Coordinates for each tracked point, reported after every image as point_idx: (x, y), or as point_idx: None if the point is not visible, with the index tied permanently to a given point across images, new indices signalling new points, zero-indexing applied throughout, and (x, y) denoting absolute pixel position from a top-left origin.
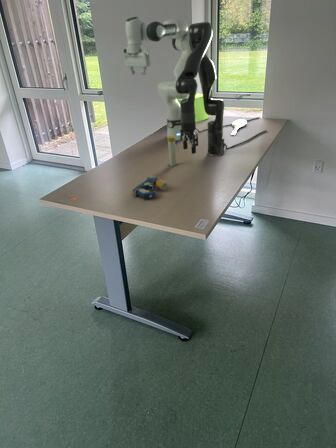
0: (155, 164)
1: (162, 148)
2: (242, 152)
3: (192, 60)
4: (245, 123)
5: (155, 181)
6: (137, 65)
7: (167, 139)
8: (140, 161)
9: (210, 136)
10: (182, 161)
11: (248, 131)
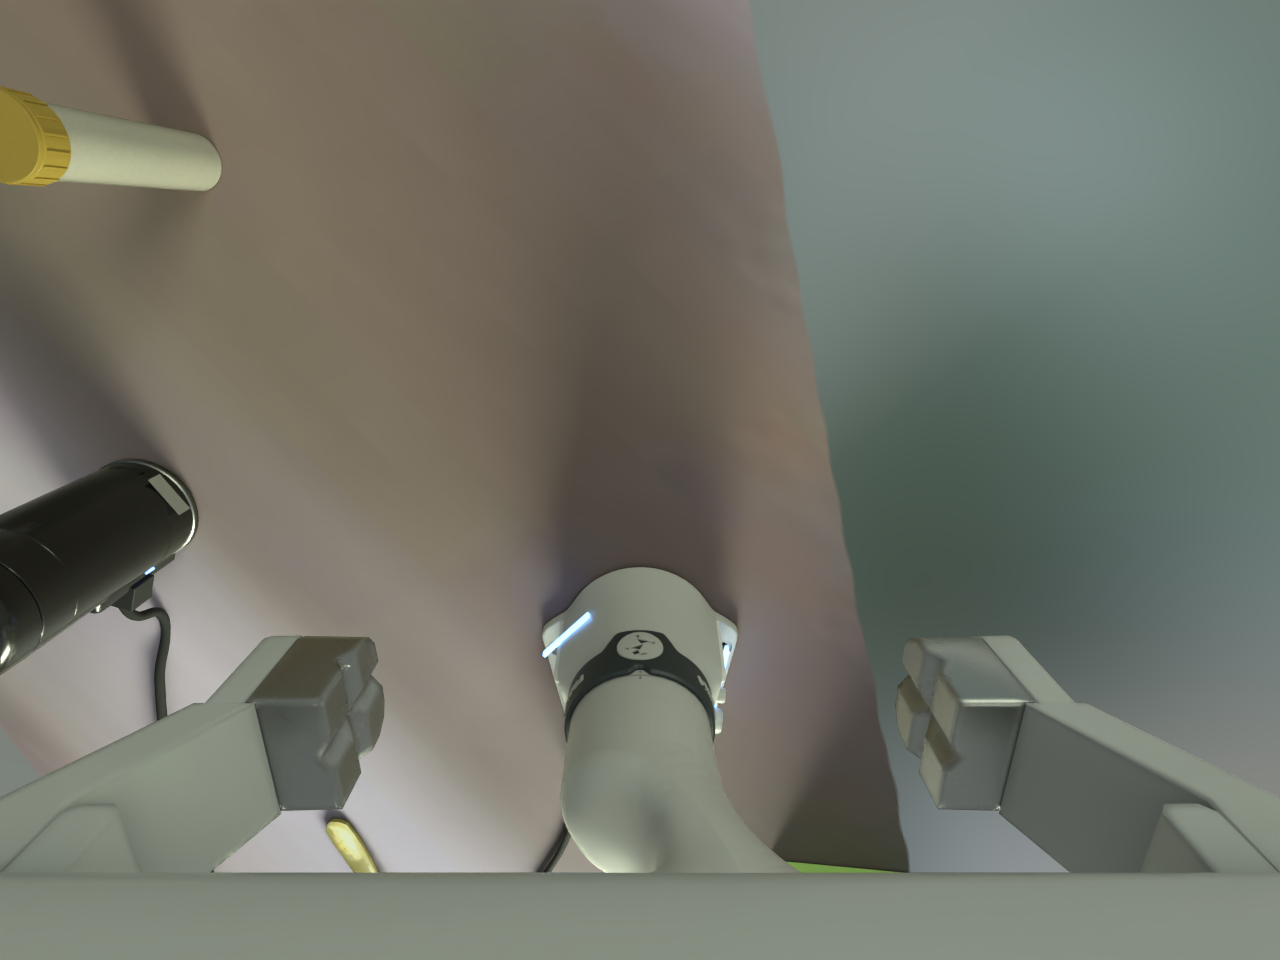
0: (311, 81)
1: (557, 403)
2: None
3: None
4: None
5: None
6: (344, 925)
7: (14, 90)
8: (475, 59)
9: (15, 515)
10: (198, 261)
11: None
